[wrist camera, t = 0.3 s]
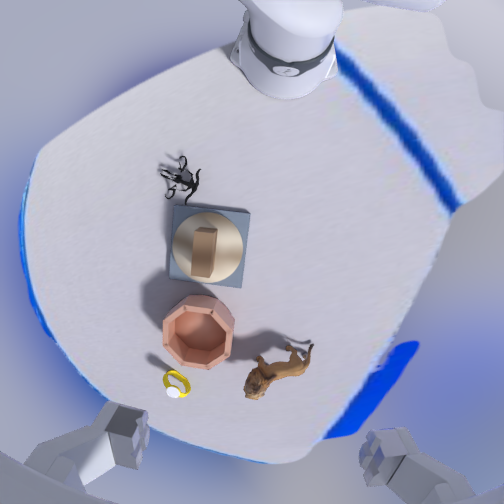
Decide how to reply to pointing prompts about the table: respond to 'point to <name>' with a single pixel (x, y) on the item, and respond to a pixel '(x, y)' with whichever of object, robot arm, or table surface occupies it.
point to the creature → (179, 180)
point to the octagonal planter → (199, 331)
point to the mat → (236, 218)
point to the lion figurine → (274, 373)
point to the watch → (174, 390)
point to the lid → (207, 247)
